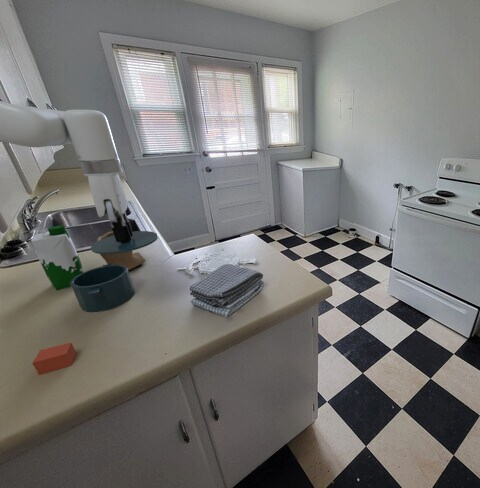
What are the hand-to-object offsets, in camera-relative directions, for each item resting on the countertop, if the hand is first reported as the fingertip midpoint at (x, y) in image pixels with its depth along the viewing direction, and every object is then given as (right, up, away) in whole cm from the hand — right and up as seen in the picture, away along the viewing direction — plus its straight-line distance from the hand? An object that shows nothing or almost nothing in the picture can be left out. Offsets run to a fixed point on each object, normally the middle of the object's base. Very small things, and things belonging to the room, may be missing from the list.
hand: (125, 238), depth 71 cm
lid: (0, -1, 0) cm, 1 cm away
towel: (+23, -18, +14) cm, 33 cm away
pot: (-15, -19, +13) cm, 28 cm away
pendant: (+12, -10, +34) cm, 37 cm away
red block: (-8, -29, -10) cm, 31 cm away
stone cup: (-23, -11, +32) cm, 40 cm away
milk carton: (-36, -15, +22) cm, 45 cm away
